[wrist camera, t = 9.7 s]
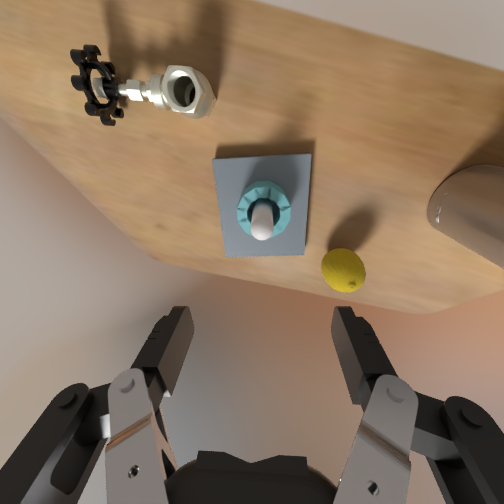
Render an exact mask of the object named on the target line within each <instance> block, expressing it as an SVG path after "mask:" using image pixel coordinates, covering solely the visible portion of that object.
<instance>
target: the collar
mask: <svg viewBox="0 0 504 504" xmlns="http://www.w3.org/2000/svg"><path fill="white" fill-rule="evenodd" d="M258 198H269V199H271V200H273V201H275V202H276V203H277V205H278V206H279V209H278V211H277V212H276V214H275V215H274V216H273V225H274V231H273V234H272V235H271V237H270V238H272V237H274V236H276V235H278V234H279V233H281V232H283V231H284V229H285V227H286V226H287V224H288V223H289V221H290V211H291V206H290V203H289V200H288V197H287V196H286V194H285V192H284V190H283V189H282V187H281V186H279V185H277V184H275V183H273V182H271V181H270V180H269V181H256V182H254V183H253V184H251V185H250V186H248V187H247V188H245V190H244V192H243V194H242V196H241V198H240V200H239V203H238V206H237V217H238V223H239V224H240V225H241V227H242V228H243V230H244V231H245V233H247V234H250V235H252V233H251V221H252V213H251V212H250V210H249V206H250V204H251V203H252V202H253V201H255V200H256V199H258ZM252 236H253V235H252Z"/></svg>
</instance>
